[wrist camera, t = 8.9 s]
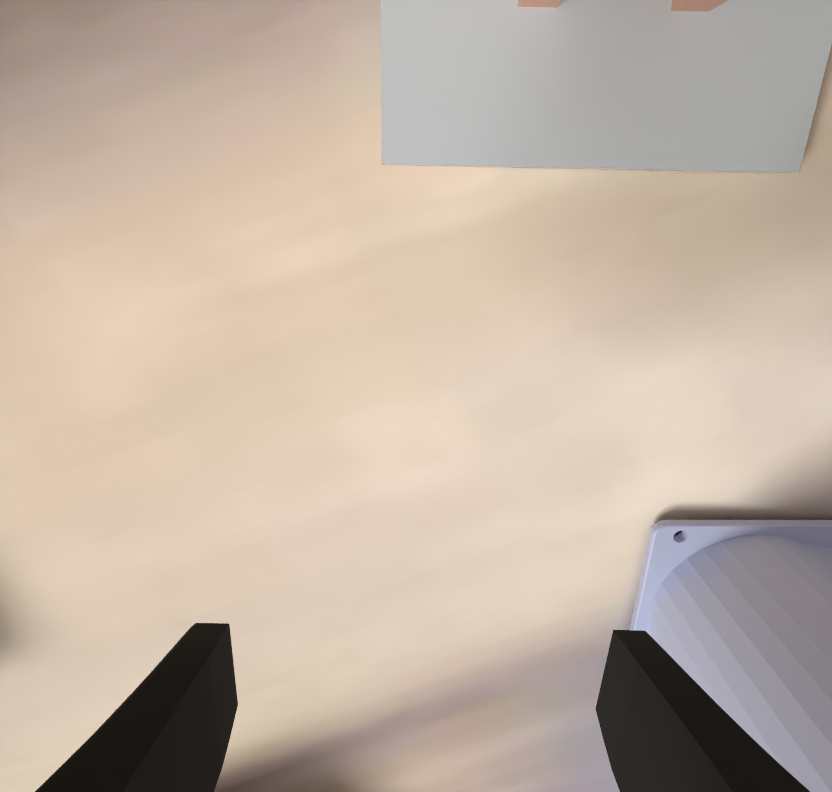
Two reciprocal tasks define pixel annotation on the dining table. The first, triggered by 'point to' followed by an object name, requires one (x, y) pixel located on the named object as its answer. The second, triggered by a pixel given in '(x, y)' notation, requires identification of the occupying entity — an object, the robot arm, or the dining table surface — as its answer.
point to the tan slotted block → (703, 3)
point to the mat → (602, 84)
